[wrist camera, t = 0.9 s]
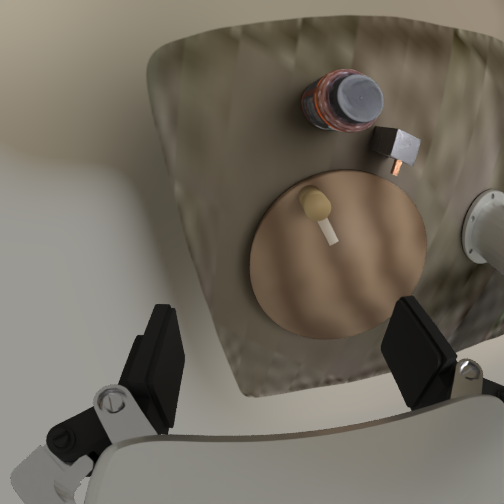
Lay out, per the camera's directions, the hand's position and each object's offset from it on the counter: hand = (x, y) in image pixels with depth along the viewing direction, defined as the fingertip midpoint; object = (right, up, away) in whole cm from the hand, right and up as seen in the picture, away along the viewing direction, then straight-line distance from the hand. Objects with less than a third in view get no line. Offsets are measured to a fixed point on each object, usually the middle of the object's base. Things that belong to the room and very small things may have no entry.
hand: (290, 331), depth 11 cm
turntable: (+10, +2, +26) cm, 28 cm away
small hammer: (+14, +16, +19) cm, 29 cm away
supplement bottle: (+7, +20, +17) cm, 27 cm away
